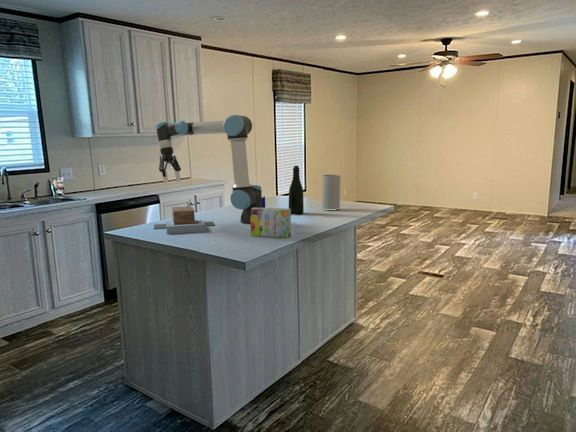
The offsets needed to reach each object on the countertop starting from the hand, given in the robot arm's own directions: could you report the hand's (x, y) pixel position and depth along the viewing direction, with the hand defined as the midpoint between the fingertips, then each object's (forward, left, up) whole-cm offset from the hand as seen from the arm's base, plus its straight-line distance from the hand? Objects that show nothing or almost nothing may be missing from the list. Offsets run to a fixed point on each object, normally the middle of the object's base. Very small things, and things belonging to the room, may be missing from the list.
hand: (172, 182), depth 269 cm
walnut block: (-7, +1, -25) cm, 26 cm away
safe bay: (-18, +20, -25) cm, 37 cm away
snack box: (-69, +22, -25) cm, 77 cm away
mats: (-11, +8, -25) cm, 29 cm away
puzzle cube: (-37, -53, -25) cm, 69 cm away
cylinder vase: (-88, -70, -25) cm, 115 cm away
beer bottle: (-67, -48, -25) cm, 86 cm away
